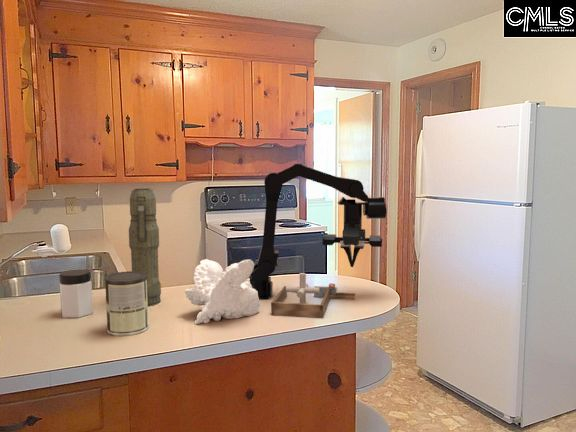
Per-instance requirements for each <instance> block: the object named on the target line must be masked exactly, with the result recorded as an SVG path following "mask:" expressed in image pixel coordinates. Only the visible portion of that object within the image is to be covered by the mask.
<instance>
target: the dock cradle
mask: <svg viewBox="0 0 576 432" xmlns="http://www.w3.org/2000/svg"><path fill="white" fill-rule="evenodd" d="M286 286H287V285H284V286H283V287H282V289H281V290H280V291H279V292H278V293H277V295H276V296H275V297H274V299H273V300H272V301H271V303H270V304H271V305H270V306H271V309H270V311H271V313H270V314H271V316H283V317H300V318H302V317H303V318H317V319H319V318H320V319H323V318H324V315H325V313H326V311H327V307H328V305H329V303H330V300H345V301H355V300H356V293H355V292H354V293H353V292H352V293H351V292H337V295H330V288H327V290H326V293H325V295H323V297H322V300H321V303H320V304H315V303H306V304H300V302H299V303H296V302H295V303H292V302H285V301H286V299H287V298H288V292H286Z"/></svg>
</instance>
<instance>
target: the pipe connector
mask: <svg viewBox="0 0 576 432" xmlns="http://www.w3.org/2000/svg"><path fill="white" fill-rule="evenodd" d="M306 280H307V275H306V273H305V272H299V286H293V285H292V286H290V285H285V286H286V292H287V293H296V296H297V298H299V303H300V304H307V302H306V301H307V300H306V299H307V298H306V297H307V296H306V295H307V294H313V295H314V294H319V293H320V288H315V286H313V287H311V286H309V285H308V283H307V282H306Z"/></svg>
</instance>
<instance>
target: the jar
mask: <svg viewBox="0 0 576 432" xmlns="http://www.w3.org/2000/svg"><path fill="white" fill-rule="evenodd" d="M91 273H92V272H91V270H89V269H81V268H80V269H69V270H66V271H61V272H60V273H59V274H58V275H59V276H58V277H59V278H58V279H59V290H60V291H59V293H60V294H59V295H60V310H61V315H62V318H64V319H66V318H68V319H73V318H74V319H75V318H76V319H78V318H82V317H85V316H88V315H92V314H93V313H94V309H93V291H92V290H93V289H92V288H93V287H92V286H93V285H92V274H91Z"/></svg>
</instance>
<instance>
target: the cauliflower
mask: <svg viewBox="0 0 576 432" xmlns="http://www.w3.org/2000/svg"><path fill="white" fill-rule="evenodd" d="M254 266H255V262H254V261H253V260H252V259H243V260H241V261H240V262H235V263H231V264H230V265H229V266H227V267H226V268H225V270H224V268H223V267H222V266H221V265H220V263H218V261H214V260H209V259H208V258H205V259H202V260H200V262H199V264H197V265H196V267H195V268H194V273H193V276H192V278H193V283H194V287H190V288H186V289H184V294H185V295H186V298H187V299H188V301H190V303H191V304H193V305H195V306H199V307H200V306H201V311H199V312H198V314H196V319H195V320H194V324H195V325H200V324H201V323H203V324H208V323H210V320H214V321H215V322H218V321H219V322H220V320H221V319H222V318H223V319H227V320H231V319H240V318H241V317H248V316H249V317H251V316H254V315H256V314H257V313H258V312H259V308H260V307H261V306H260V304H261V302H260V299H259V298H258V291H256V290H255V289H253V288H252V286H251V284H250V281H247V280H248V279H250V277H251V272H252V271H253V269H254Z"/></svg>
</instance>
